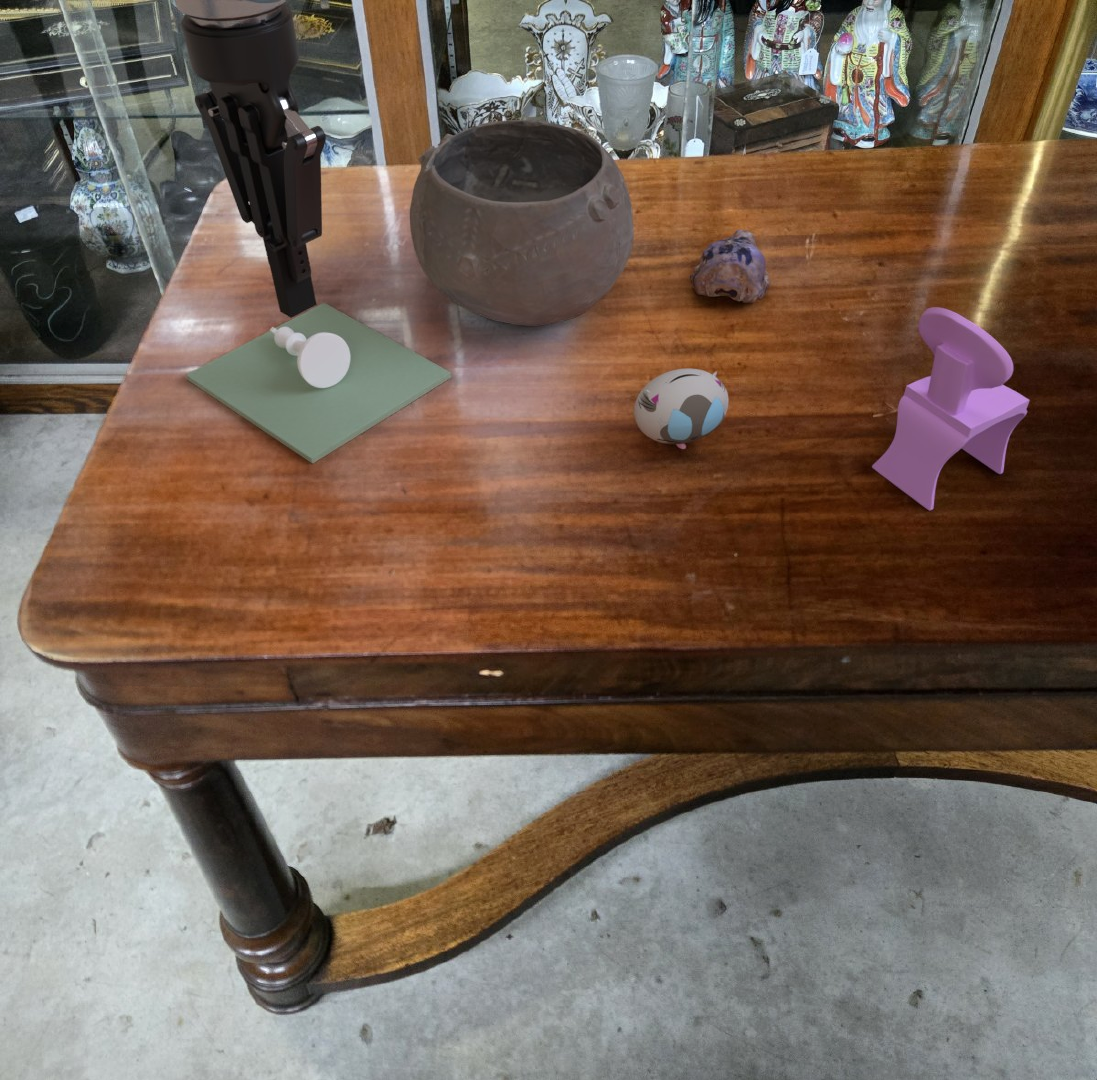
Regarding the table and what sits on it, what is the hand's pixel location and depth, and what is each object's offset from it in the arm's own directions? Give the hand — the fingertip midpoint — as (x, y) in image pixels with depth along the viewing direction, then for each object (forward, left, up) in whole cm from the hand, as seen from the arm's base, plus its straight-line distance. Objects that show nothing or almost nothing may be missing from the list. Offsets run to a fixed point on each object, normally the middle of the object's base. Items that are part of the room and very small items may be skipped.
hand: (298, 307), depth 88 cm
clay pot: (+23, -4, -8) cm, 25 cm away
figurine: (+15, -29, -8) cm, 34 cm away
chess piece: (+1, -2, -5) cm, 5 cm away
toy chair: (+26, -47, -8) cm, 55 cm away
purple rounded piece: (+39, -18, -8) cm, 44 cm away
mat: (+1, +1, -8) cm, 8 cm away
